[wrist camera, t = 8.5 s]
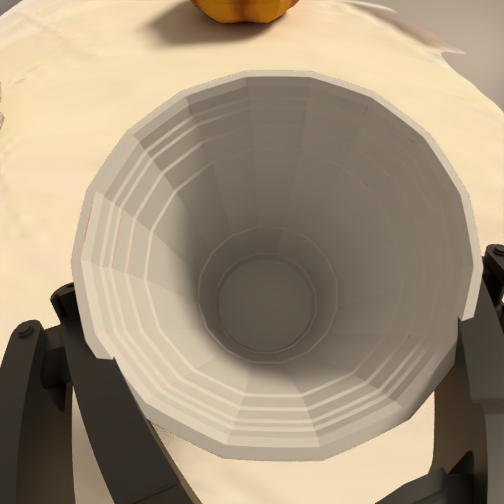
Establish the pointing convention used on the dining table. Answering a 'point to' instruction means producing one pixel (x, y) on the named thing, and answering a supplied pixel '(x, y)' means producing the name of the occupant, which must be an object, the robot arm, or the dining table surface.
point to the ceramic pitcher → (0, 116)
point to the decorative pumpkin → (244, 9)
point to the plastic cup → (277, 265)
